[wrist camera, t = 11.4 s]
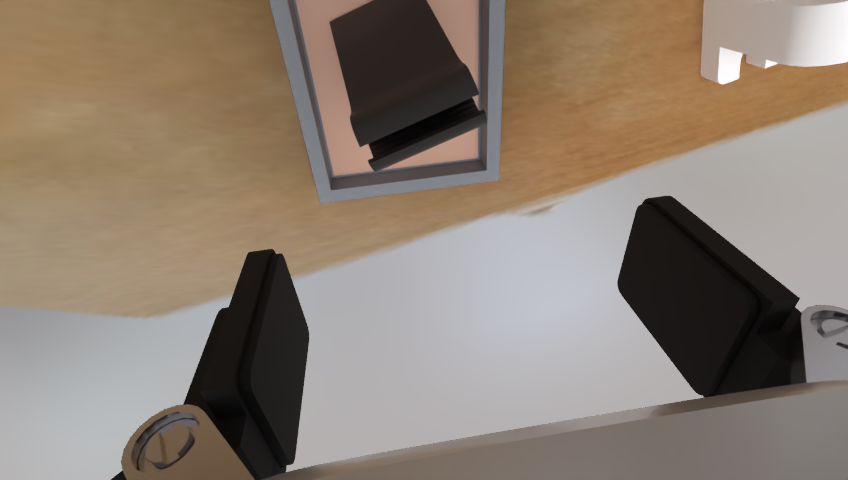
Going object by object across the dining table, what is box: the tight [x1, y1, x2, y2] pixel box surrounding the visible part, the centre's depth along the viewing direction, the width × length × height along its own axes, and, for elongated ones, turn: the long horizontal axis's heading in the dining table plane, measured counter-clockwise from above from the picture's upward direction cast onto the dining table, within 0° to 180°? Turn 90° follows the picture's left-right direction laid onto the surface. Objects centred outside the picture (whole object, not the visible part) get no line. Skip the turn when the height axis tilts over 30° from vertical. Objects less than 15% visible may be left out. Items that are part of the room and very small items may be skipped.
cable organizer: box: [701, 0, 848, 84], centre depth 26 cm, size 5×10×10 cm, turn 20°
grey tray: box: [269, 0, 505, 204], centre depth 29 cm, size 14×17×3 cm
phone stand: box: [329, 0, 487, 172], centre depth 24 cm, size 9×6×12 cm, turn 21°
